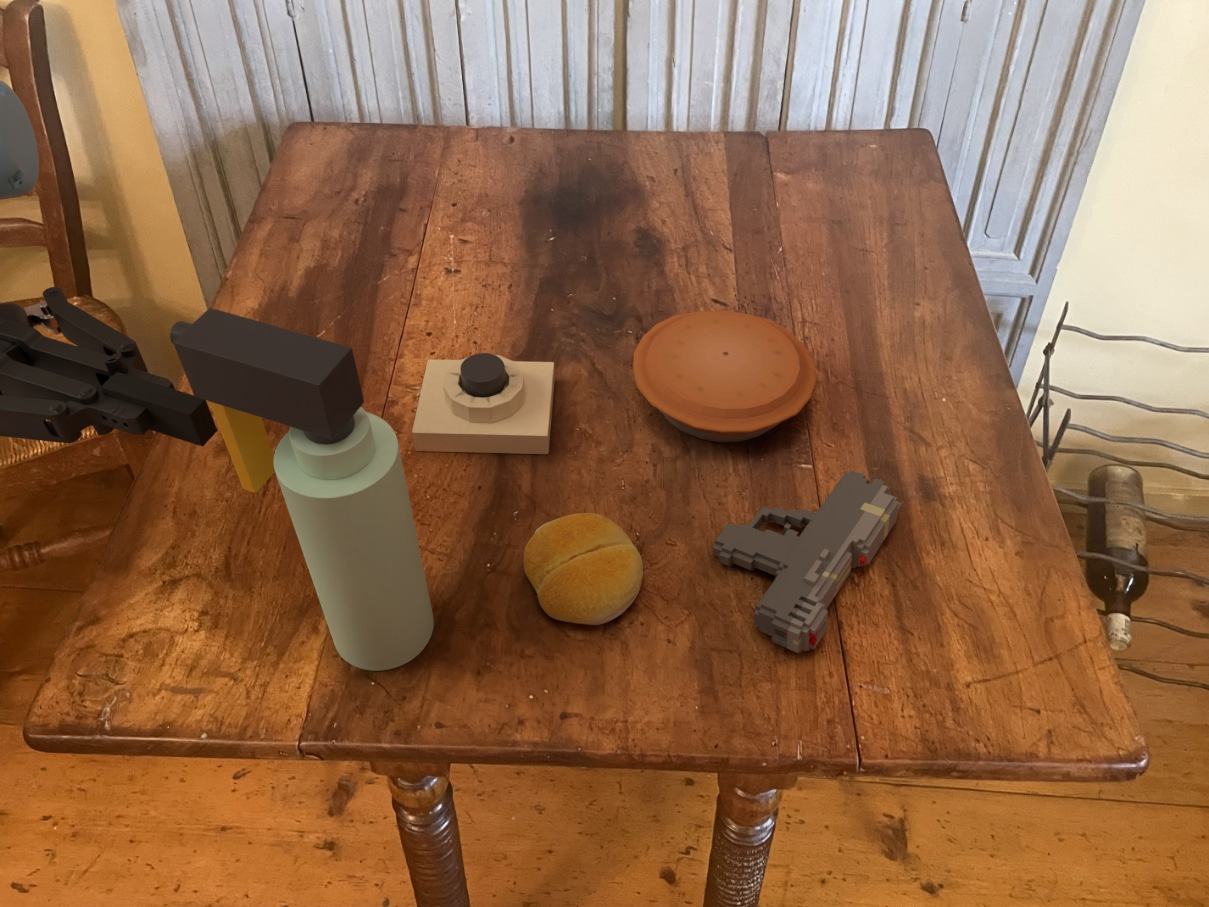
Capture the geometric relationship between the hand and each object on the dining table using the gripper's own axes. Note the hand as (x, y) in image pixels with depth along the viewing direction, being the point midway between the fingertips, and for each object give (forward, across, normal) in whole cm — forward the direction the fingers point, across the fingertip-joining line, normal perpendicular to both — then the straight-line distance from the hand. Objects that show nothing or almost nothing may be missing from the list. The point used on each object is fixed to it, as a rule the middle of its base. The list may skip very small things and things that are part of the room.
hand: (203, 422), depth 60 cm
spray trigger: (+3, 0, -4) cm, 5 cm away
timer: (+7, -22, -17) cm, 28 cm away
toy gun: (+35, -17, -17) cm, 42 cm away
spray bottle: (+7, 0, -17) cm, 18 cm away
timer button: (+7, -22, -13) cm, 27 cm away
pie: (+25, -31, -17) cm, 43 cm away
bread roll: (+21, -9, -17) cm, 28 cm away
